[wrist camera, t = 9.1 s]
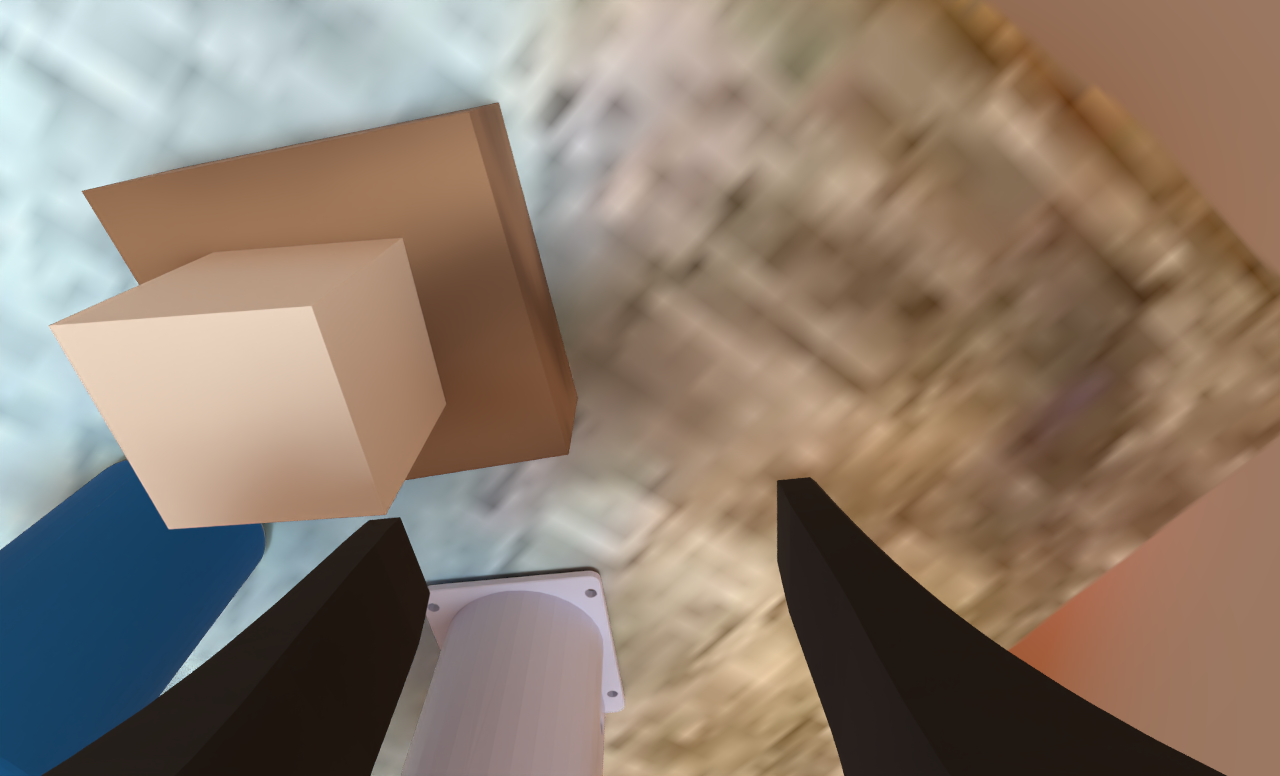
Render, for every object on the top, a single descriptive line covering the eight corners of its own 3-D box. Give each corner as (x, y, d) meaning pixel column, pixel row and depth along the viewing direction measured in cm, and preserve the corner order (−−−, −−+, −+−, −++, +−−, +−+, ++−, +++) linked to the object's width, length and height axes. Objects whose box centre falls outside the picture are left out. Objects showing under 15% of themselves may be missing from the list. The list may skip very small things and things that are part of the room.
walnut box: (578, 392, 22) (568, 454, 19) (327, 434, 23) (272, 501, 20) (501, 101, 18) (468, 111, 14) (187, 166, 18) (81, 190, 15)
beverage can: (88, 526, 24) (-322, 874, 14) (129, 416, 22) (-333, 740, 11) (245, 590, 26) (-11, 940, 16) (299, 496, 24) (37, 836, 13)
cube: (446, 404, 18) (386, 514, 13) (282, 415, 18) (169, 529, 14) (402, 237, 15) (311, 306, 11) (213, 252, 16) (48, 325, 11)
